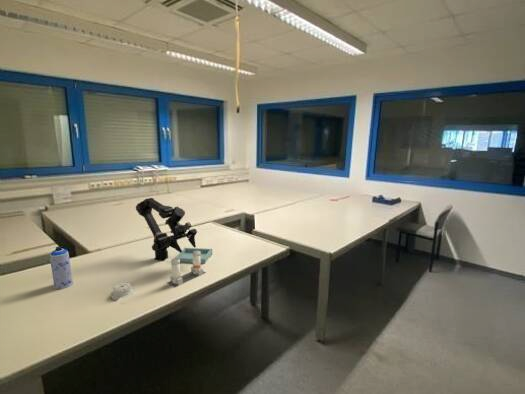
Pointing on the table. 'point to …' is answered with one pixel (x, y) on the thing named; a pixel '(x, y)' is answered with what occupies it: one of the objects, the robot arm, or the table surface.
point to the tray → (188, 258)
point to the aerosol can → (61, 268)
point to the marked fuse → (196, 262)
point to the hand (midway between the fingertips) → (188, 249)
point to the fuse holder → (186, 277)
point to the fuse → (175, 270)
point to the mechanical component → (121, 291)
